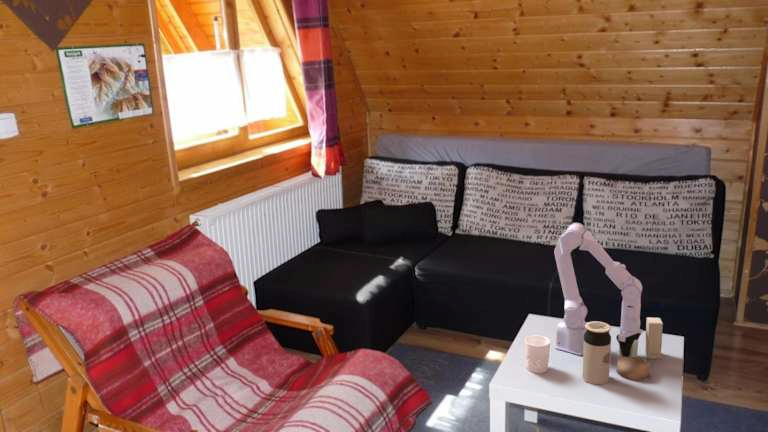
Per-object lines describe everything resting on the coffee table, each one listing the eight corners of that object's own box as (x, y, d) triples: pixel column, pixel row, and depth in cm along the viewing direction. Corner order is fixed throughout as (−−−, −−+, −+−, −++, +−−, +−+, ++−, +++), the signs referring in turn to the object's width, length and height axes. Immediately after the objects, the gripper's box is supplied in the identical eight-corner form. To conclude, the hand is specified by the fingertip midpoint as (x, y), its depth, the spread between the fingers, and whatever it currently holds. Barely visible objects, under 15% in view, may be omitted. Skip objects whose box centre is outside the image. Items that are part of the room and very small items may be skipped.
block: (618, 358, 213) (619, 341, 212) (623, 353, 217) (624, 337, 215) (632, 362, 210) (633, 345, 209) (637, 356, 214) (638, 340, 212)
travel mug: (576, 376, 203) (578, 324, 199) (596, 370, 206) (598, 318, 202) (594, 387, 196) (597, 333, 192) (614, 381, 199) (617, 328, 195)
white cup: (552, 365, 211) (552, 337, 208) (545, 376, 204) (546, 348, 201) (528, 360, 214) (529, 333, 212) (521, 371, 208) (522, 343, 205)
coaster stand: (612, 374, 203) (612, 366, 202) (623, 362, 211) (624, 354, 210) (644, 384, 197) (644, 375, 196) (654, 370, 204) (655, 362, 204)
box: (661, 359, 211) (663, 323, 208) (646, 358, 212) (649, 323, 209) (657, 352, 216) (660, 317, 213) (643, 351, 217) (646, 316, 214)
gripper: (635, 326, 202) (632, 365, 205) (650, 310, 212) (647, 348, 216) (612, 321, 206) (610, 359, 210) (629, 306, 217) (626, 342, 220)
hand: (628, 353), depth 213 cm, fingers closed on block, 4 cm apart
